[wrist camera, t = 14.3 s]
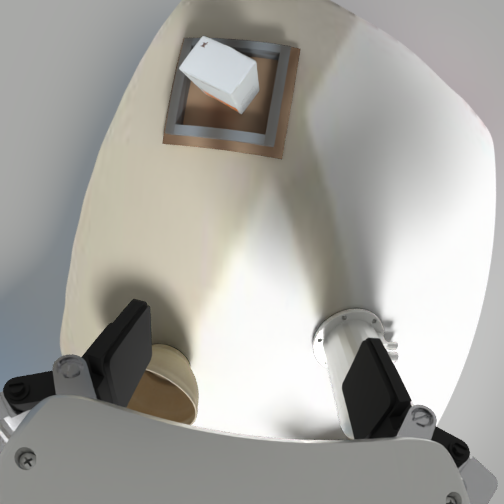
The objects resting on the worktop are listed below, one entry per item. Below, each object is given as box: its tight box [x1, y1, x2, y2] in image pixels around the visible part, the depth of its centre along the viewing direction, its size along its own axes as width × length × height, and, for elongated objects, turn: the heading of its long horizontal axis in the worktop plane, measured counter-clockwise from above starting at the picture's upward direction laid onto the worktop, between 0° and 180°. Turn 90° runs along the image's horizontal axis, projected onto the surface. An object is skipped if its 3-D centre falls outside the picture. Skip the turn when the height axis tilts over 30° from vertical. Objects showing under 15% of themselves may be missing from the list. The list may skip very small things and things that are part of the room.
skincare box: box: [179, 36, 259, 114], centre depth 26 cm, size 6×4×12 cm
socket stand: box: [162, 38, 300, 159], centre depth 31 cm, size 16×16×4 cm
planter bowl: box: [126, 344, 198, 425], centre depth 43 cm, size 16×16×11 cm
